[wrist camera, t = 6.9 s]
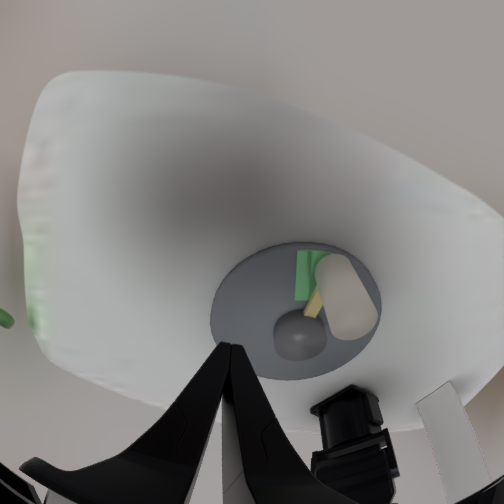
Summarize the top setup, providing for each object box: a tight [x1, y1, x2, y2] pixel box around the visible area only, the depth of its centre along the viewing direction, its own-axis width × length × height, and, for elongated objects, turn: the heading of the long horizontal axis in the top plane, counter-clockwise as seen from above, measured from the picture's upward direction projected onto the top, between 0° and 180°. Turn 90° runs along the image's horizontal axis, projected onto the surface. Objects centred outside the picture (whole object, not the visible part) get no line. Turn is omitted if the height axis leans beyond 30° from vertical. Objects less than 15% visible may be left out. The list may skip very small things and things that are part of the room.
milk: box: [416, 381, 492, 504], centre depth 19 cm, size 6×6×22 cm
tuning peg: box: [274, 253, 378, 361], centre depth 17 cm, size 9×4×6 cm, turn 163°
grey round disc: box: [210, 242, 381, 380], centre depth 21 cm, size 14×14×1 cm
